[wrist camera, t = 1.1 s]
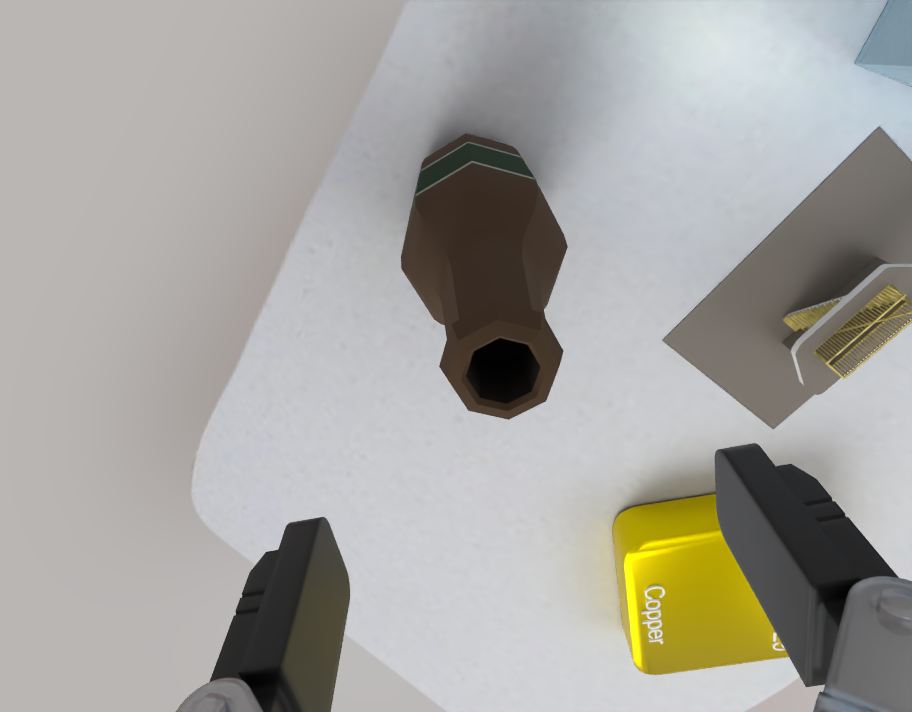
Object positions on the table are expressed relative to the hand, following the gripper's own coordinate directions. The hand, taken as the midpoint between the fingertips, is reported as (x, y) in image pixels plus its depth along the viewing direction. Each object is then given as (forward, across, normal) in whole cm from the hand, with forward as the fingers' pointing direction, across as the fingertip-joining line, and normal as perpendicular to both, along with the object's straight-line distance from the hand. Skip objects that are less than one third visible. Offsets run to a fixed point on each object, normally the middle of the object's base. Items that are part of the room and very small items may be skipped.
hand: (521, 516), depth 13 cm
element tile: (+30, -13, +34) cm, 48 cm away
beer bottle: (+30, 0, 0) cm, 30 cm away
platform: (+30, -22, +11) cm, 39 cm away
